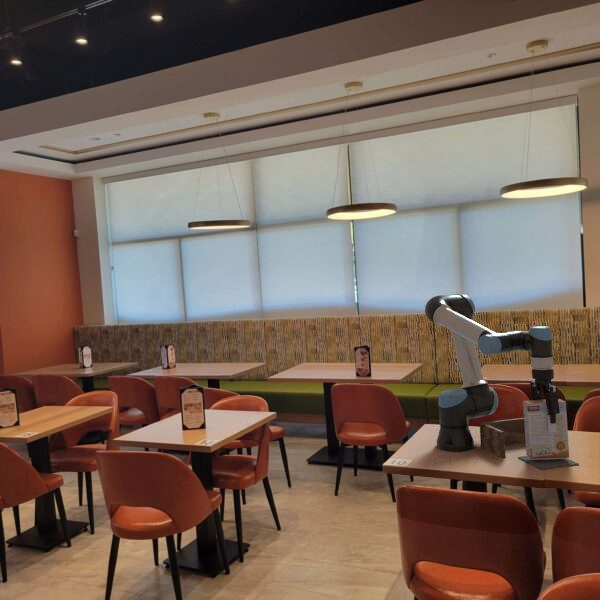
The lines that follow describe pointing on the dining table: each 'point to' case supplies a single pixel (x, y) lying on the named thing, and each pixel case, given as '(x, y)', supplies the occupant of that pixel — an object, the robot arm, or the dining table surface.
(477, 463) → the dining table surface
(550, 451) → the cracker box
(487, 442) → the cubby shelf
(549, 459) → the mat
